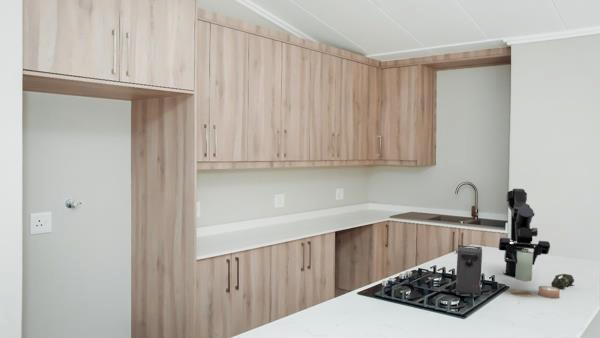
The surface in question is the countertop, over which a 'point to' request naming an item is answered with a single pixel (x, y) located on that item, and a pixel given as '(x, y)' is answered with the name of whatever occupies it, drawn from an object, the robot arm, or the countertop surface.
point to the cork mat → (521, 293)
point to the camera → (468, 270)
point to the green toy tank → (562, 281)
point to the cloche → (524, 265)
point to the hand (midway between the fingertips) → (524, 263)
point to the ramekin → (549, 292)
